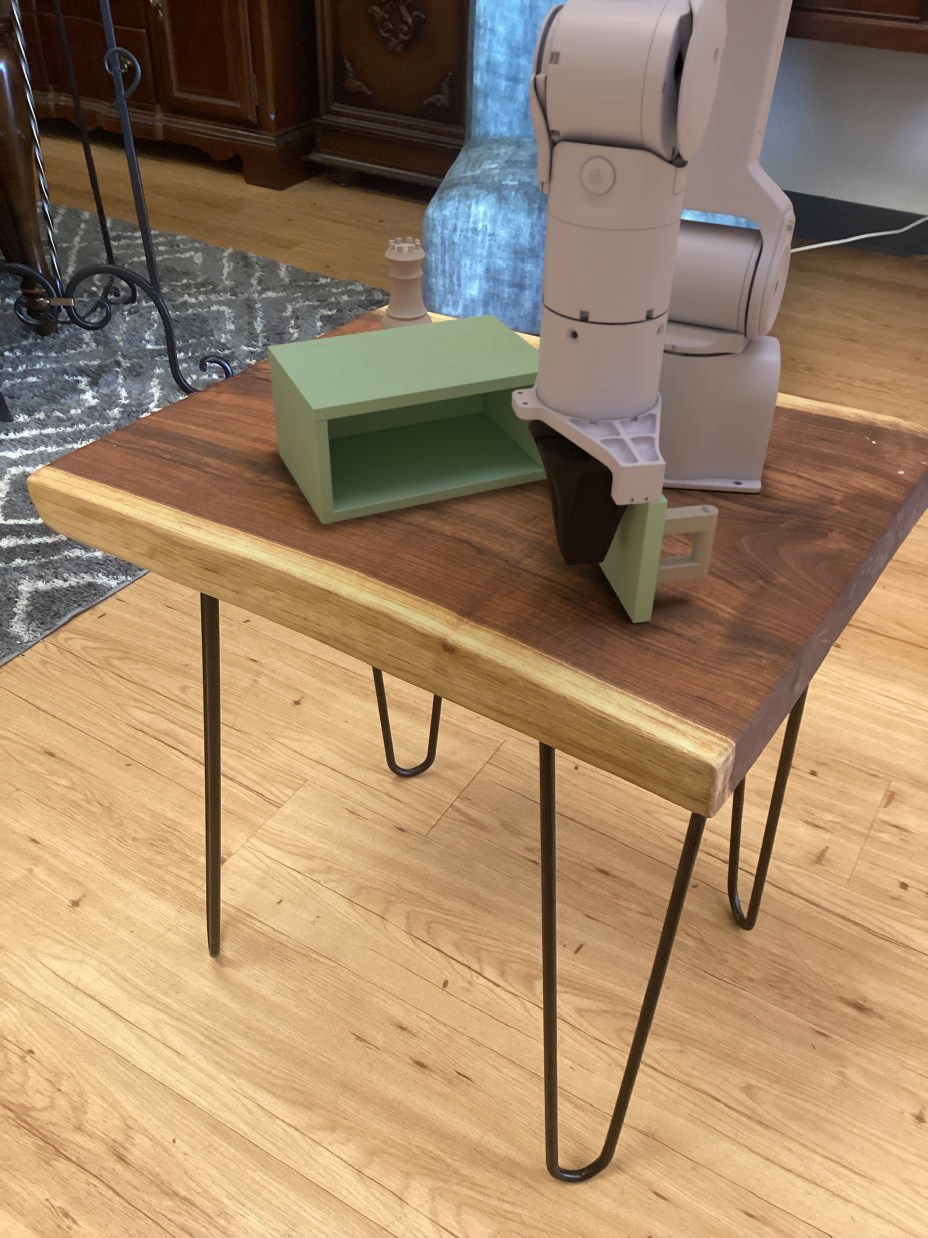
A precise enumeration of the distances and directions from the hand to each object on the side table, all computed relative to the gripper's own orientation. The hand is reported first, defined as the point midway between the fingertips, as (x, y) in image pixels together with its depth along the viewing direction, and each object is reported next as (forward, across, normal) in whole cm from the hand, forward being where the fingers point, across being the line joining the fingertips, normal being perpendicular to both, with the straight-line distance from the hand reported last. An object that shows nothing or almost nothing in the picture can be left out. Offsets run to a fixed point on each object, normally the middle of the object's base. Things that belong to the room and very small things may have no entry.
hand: (581, 556), depth 55 cm
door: (+3, -5, +4) cm, 7 cm away
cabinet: (+3, -17, -7) cm, 18 cm away
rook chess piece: (+3, -39, -4) cm, 39 cm away
